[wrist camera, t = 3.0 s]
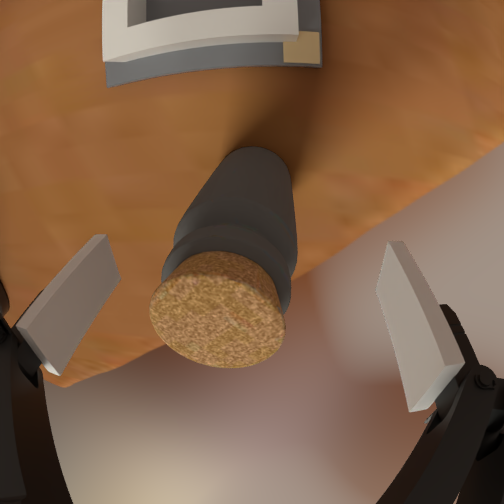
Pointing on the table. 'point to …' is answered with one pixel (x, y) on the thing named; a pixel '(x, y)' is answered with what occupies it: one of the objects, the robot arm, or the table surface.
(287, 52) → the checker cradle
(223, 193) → the bottle
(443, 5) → the table surface
